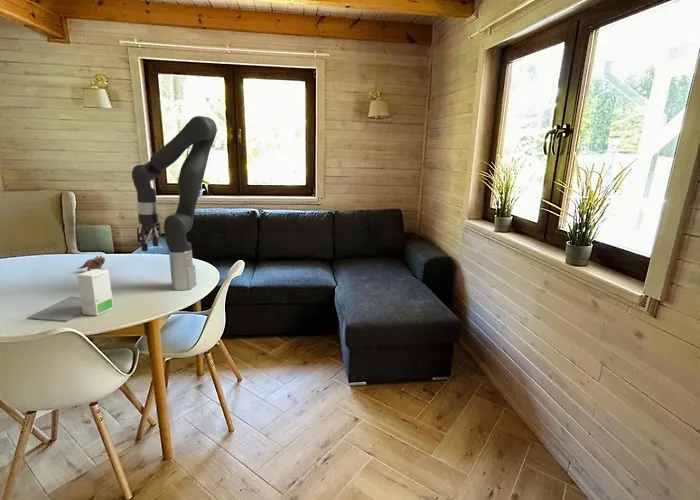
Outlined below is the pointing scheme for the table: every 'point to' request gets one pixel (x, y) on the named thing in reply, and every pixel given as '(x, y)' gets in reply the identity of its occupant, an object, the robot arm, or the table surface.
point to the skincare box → (95, 291)
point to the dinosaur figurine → (94, 263)
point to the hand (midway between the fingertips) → (150, 248)
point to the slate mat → (60, 310)
